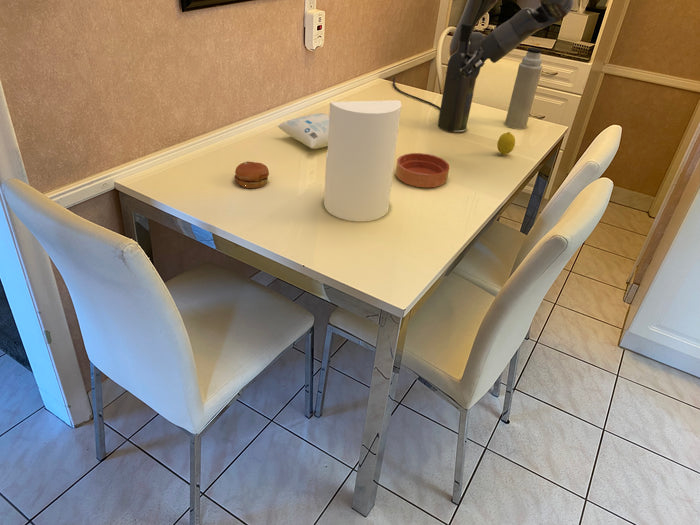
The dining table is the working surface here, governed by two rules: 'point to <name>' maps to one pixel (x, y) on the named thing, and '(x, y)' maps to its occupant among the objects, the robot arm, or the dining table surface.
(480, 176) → the dining table surface
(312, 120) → the pouch
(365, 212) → the cylinder
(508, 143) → the lemon
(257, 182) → the burger
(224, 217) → the dining table surface
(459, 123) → the wine bottle
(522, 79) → the thermos bottle
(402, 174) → the dish
